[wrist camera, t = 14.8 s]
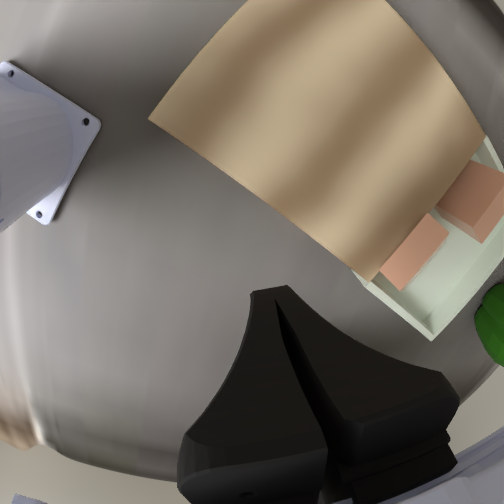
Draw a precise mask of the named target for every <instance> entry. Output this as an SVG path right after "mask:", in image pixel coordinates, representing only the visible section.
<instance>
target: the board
mask: <svg viewBox="0 0 504 504" xmlns="http://www.w3.org/2000/svg"><path fill="white" fill-rule="evenodd" d="M148 120H150V121H151V122H153V123H154V124H156V125H157V126H159V127H160V128H162V129H163V130H165V131H166V132H168V133H169V134H171V135H172V136H173V137H175V138H176V139H178V140H179V141H181V142H182V143H184V144H185V145H187V146H188V147H189V148H191V149H192V150H194V151H195V152H197V153H198V154H199V155H201V156H202V157H204V158H205V159H207V160H208V161H209V162H211V163H212V164H214V165H215V166H216V167H218V168H219V169H221V170H222V171H223V172H225V173H226V174H228V175H229V176H230V177H232V178H233V179H235V180H236V181H237V182H239V183H240V184H241V185H243V186H244V187H246V188H247V189H248V190H250V191H251V192H252V193H254V194H255V195H256V196H258V197H259V198H260V199H262V200H263V201H264V202H266V203H267V204H269V205H270V206H271V207H273V208H274V209H275V210H277V211H278V212H279V213H281V214H282V215H283V216H284V217H286V218H287V219H288V220H290V221H291V222H292V223H294V224H295V225H296V226H298V227H299V228H300V229H302V230H303V231H304V232H305V233H307V234H308V235H309V236H311V237H312V238H313V239H314V240H316V241H317V242H318V243H320V244H321V245H322V246H323V247H325V248H326V249H327V250H329V251H330V252H331V253H332V254H334V255H335V256H336V257H337V258H339V259H340V260H341V261H342V262H344V263H345V264H346V265H347V266H349V267H350V268H351V269H352V270H354V271H355V272H356V273H357V274H359V275H360V276H361V277H362V278H364V279H365V280H366V281H367V282H368V283H369V282H370V281H371V280H372V279H373V278H374V277H375V275H376V274H377V273H378V272H379V269H380V268H381V267H382V266H383V265H384V263H385V262H386V261H387V260H388V259H389V258H390V257H391V255H392V254H393V253H394V252H395V251H396V250H397V249H398V247H399V246H400V245H401V244H402V243H403V242H404V240H405V239H406V238H407V237H408V236H409V234H410V233H411V232H412V231H413V230H414V228H415V227H416V226H417V225H418V223H419V222H420V221H421V220H422V219H423V217H424V216H425V215H426V214H427V213H428V214H429V213H430V212H431V210H432V209H433V208H434V207H435V205H436V204H437V203H438V202H439V200H440V199H441V198H442V196H443V195H444V194H445V193H446V191H447V190H448V189H449V187H450V186H451V185H452V183H453V182H454V181H455V179H456V178H457V177H458V175H459V174H460V173H461V171H462V170H463V169H464V167H465V166H466V164H467V163H468V162H469V160H470V159H471V157H472V156H473V155H474V153H475V152H476V150H477V149H478V147H479V146H480V145H481V143H482V142H483V140H484V139H485V137H486V135H485V134H484V132H483V130H482V128H481V126H480V125H479V123H478V121H477V120H476V118H475V116H474V114H473V113H472V111H471V110H470V108H469V106H468V105H467V103H466V101H465V100H464V98H463V97H462V95H461V94H460V92H459V91H458V89H457V88H456V86H455V85H454V83H453V82H452V80H451V79H450V78H449V76H448V75H447V73H446V72H445V71H444V69H443V68H442V66H441V65H440V64H439V62H438V61H437V60H436V58H435V57H434V56H433V54H432V53H431V52H430V51H429V49H428V48H427V47H426V46H425V44H424V43H423V42H422V41H421V40H420V38H419V37H418V36H417V35H416V34H415V32H414V31H413V30H412V29H411V28H410V27H409V26H408V24H407V23H406V22H405V21H404V20H403V19H402V18H401V17H400V16H399V14H398V13H397V12H396V11H395V10H394V9H393V8H392V7H391V6H390V5H389V4H388V3H387V2H386V1H385V0H248V1H247V2H246V3H245V4H244V5H243V6H242V7H241V8H240V9H239V10H238V11H237V12H236V13H235V14H234V15H233V16H232V17H231V18H230V19H229V20H228V21H227V22H226V23H225V24H224V25H223V26H222V27H221V29H220V30H219V31H218V32H217V33H216V34H215V35H214V36H213V37H212V38H211V40H210V41H209V42H208V43H207V44H206V45H205V46H204V47H203V49H202V50H201V51H200V52H199V53H198V54H197V56H196V57H195V58H194V59H193V60H192V62H191V63H190V64H189V65H188V66H187V68H186V69H185V70H184V71H183V73H182V74H181V75H180V76H179V78H178V79H177V80H176V81H175V83H174V84H173V85H172V86H171V88H170V89H169V90H168V92H167V93H166V94H165V96H164V97H163V98H162V100H161V101H160V102H159V104H158V105H157V106H156V108H155V109H154V111H153V112H152V113H151V115H150V116H149V118H148Z"/></svg>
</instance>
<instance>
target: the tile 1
mask: <svg viewBox="0 0 504 504" xmlns="http://www.w3.org/2000/svg"><path fill="white" fill-rule="evenodd" d="M448 235H449V232H448V231H447V230H446V229H445V228H444V227H443V226H442V225H441V224H440V223H438V222H437V221H436V220H435V219H434V218H433V217H432V216H431V215H430V214H428V213H427V214H426V215H425V216H424V217H423V219H422V220H421V221H420V222H419V223H418V225H417V226H416V227H415V228H414V230H413V231H412V232H411V233H410V234H409V236H408V237H407V238H406V239H405V240H404V242H403V243H402V244H401V245H400V246H399V247H398V249H397V250H396V251H395V252H394V253H393V254H392V255H391V257H390V258H389V259H388V260H387V261H386V262H385V263H384V265H383V266H382V267H381V268H380V269H379V271H380V272H381V273H382V274H383V275H384V276H385V277H386V278H387V279H388V280H389V281H390V282H391V283H392V284H393V285H394V286H395V287H396V288H397V289H398V290H399V291H404V290H405V289H406V288H407V287H408V286H409V285H410V284H411V283H412V281H413V280H414V279H415V278H416V277H417V276H418V275H419V273H420V272H421V271H422V270H423V269H424V268H425V267H426V265H427V264H428V263H429V262H430V261H431V259H432V258H433V257H434V256H435V255H436V253H437V252H438V251H439V250H440V249H441V247H442V246H443V245H444V244H445V242H446V240H447V238H448Z"/></svg>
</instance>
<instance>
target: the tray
mask: <svg viewBox="0 0 504 504" xmlns="http://www.w3.org/2000/svg"><path fill="white" fill-rule="evenodd" d="M470 160H473V161H475V162H478V163H480V164H483V165H486V166H488V167H491V168H493V169H495V170H498V171H500V172H503V173H504V168H503V166H502V164H501V162H500V160H499V158H498V156H497V154H496V152H495V150H494V148H493V146H492V144H491V142H490V140H489V138H488V136H487V135H486V137H485V139H484V140H483V142H482V143H481V145H480V146H479V147H478V149H477V150H476V152H475V153H474V155H473V156H472V157H471V159H470ZM429 214H430V215H431V216H432V217H433V218H434V219H435V220H436V221H437V222H438V223H440V224H441V225H442V226H443V227H444V228H445V229H446V230H447V231H448V232H449V235H448V238H447V240H446V242H445V244H444V245H443V246H442V247H441V249H440V250H439V251H438V252H437V253H436V255H435V256H434V257H433V258H432V259H431V261H430V262H429V263H428V264H427V265H426V267H425V268H424V269H423V270H422V271H421V272H420V273H419V275H418V276H417V277H416V278H415V279H414V280H413V281H412V283H411V284H410V285H409V286H408V287H407V288H406V289H405V290H404V291H399V290H398V289H397V288H396V287H395V286H394V285H393V284H392V283H391V282H390V281H389V280H388V279H387V278H386V277H385V276H384V275H383V274H382V273H381V272H380V271H379V272H378V273H377V274H376V275H375V277H374V278H373V279H372V280H371V281H370V282H369V283H368V282H367V281H366V280H365V279H364V278H362V277H361V276H360V275H359V274H357V273H356V272H355V271H354V270H352V271H353V273H354V274H355V275H356V277H357V278H358V279H359V280H360V282H361V283H362V284H363V286H364V287H365V288H366V289H368V290H369V291H370V292H371V293H373V294H374V295H375V296H376V297H378V298H379V299H380V300H381V301H383V302H384V303H385V304H386V305H388V306H389V307H390V308H391V309H392V310H394V311H395V312H396V313H397V314H399V315H400V316H401V317H402V318H404V319H405V320H406V321H407V322H408V323H410V324H411V325H412V326H413V327H415V328H416V329H417V330H418V331H419V332H421V333H422V334H423V335H424V336H425V337H427V338H428V339H429V340H430V341H432V340H433V339H434V338H435V337H436V336H437V335H438V334H439V333H440V332H441V331H442V330H443V329H444V328H445V327H446V326H447V325H448V324H449V323H450V322H451V321H452V319H453V318H454V317H455V316H456V315H457V314H458V313H459V312H460V311H461V310H462V308H463V307H464V306H465V305H466V304H467V303H468V302H469V300H470V299H471V298H472V297H473V296H474V295H475V293H476V292H477V291H478V290H479V289H480V287H481V286H482V285H483V284H484V282H485V281H486V280H487V279H488V277H489V276H490V275H491V274H492V272H493V271H494V270H495V268H496V267H497V266H498V264H499V263H500V262H501V260H502V259H503V258H504V215H503V216H502V218H501V219H500V221H499V222H498V223H497V225H496V226H495V227H494V229H493V230H492V232H491V233H490V234H489V235H488V237H487V238H486V239H485V241H484V242H483V243H482V244H481V243H479V242H478V241H476V240H475V239H473V238H472V237H470V236H469V235H468V234H466V233H465V232H463V231H462V230H460V229H459V228H457V227H456V226H454V225H453V224H451V223H449V222H448V221H446V220H445V219H443V218H442V217H441V215H440V214H439V213H438V211H437V210H436V208H435V207H434V208H433V209H432V210H431V212H430V213H429Z"/></svg>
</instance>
